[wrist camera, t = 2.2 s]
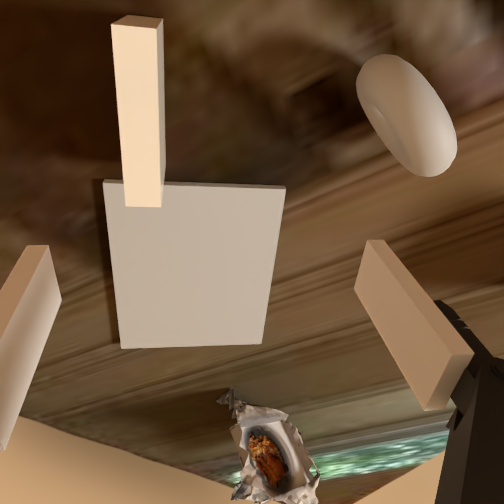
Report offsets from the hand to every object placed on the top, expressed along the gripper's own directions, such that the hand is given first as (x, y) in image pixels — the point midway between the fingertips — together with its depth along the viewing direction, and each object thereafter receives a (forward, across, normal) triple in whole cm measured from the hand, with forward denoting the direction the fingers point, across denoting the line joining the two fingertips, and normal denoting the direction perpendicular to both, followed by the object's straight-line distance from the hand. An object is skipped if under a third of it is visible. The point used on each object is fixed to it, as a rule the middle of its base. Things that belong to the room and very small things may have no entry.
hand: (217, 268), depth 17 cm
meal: (+20, +9, -40) cm, 46 cm away
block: (+20, -4, +2) cm, 20 cm away
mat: (+20, 0, -15) cm, 25 cm away
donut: (+20, +15, +3) cm, 25 cm away
